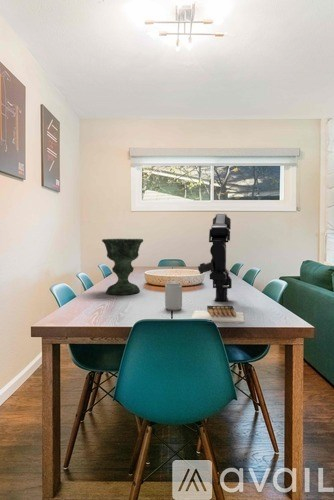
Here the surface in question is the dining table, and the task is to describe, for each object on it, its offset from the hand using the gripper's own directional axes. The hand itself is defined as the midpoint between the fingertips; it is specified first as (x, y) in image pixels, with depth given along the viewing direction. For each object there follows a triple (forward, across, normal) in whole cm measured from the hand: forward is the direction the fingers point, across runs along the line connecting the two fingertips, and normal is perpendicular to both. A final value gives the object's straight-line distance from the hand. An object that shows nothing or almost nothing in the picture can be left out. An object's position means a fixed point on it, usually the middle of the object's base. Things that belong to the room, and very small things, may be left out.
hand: (218, 294), depth 137 cm
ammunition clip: (+7, -5, 0) cm, 8 cm away
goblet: (+9, -39, -55) cm, 68 cm away
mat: (+8, +4, 0) cm, 9 cm away
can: (+9, -6, -20) cm, 23 cm away
